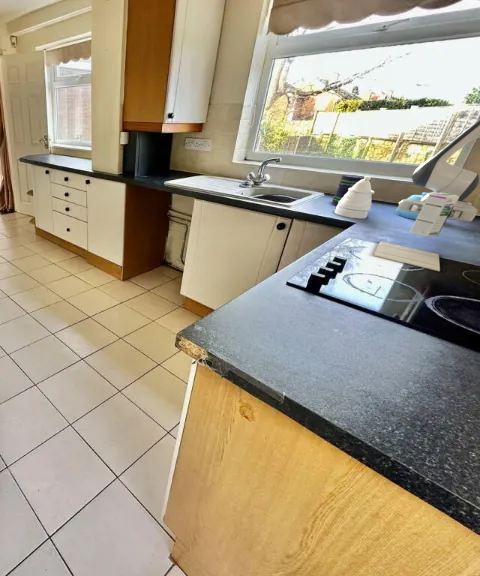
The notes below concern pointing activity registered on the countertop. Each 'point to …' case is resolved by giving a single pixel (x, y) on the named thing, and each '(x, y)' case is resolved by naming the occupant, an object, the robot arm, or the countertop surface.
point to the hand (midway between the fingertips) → (435, 213)
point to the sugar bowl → (411, 214)
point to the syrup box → (434, 214)
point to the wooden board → (408, 256)
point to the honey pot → (356, 200)
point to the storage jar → (345, 186)
